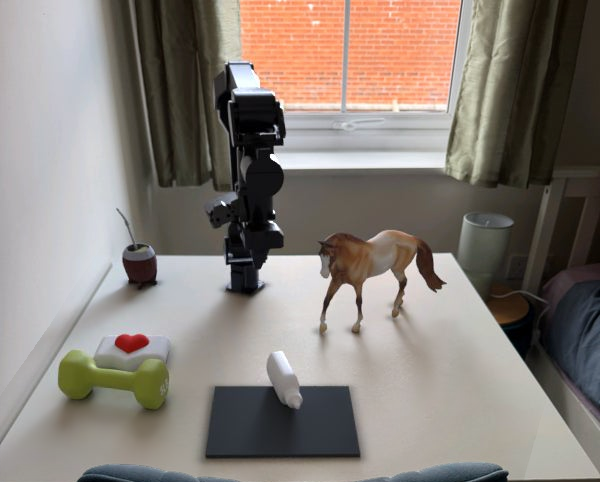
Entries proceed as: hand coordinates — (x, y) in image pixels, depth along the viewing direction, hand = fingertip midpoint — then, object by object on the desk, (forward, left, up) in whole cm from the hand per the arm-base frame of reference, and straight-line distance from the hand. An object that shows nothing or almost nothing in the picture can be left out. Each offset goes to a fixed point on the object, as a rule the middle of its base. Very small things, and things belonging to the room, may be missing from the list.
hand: (257, 268), depth 106 cm
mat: (+22, +17, -13) cm, 30 cm away
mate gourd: (-7, -33, -13) cm, 36 cm away
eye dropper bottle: (+13, +11, -10) cm, 19 cm away
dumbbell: (+29, -9, -13) cm, 33 cm away
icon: (+19, -14, -13) cm, 27 cm away
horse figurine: (-14, +20, -13) cm, 27 cm away
